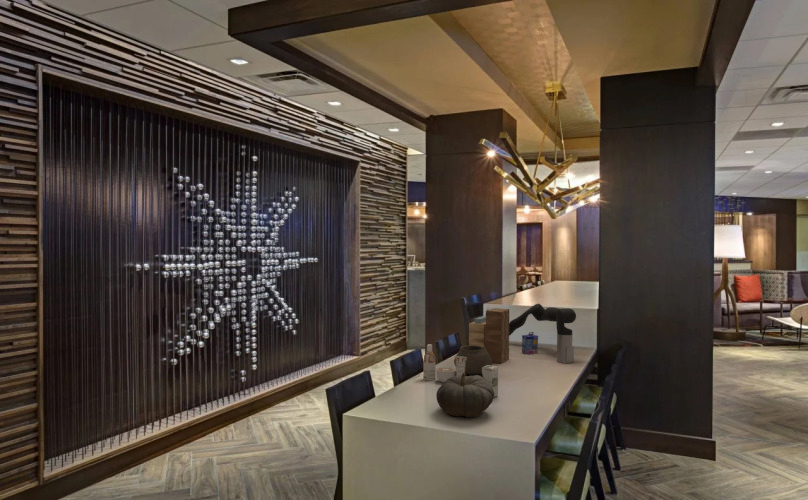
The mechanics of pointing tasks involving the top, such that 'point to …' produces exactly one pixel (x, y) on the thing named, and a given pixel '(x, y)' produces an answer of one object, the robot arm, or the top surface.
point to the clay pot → (474, 358)
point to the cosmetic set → (442, 373)
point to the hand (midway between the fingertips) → (493, 311)
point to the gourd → (465, 395)
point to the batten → (480, 320)
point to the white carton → (491, 377)
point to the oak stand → (477, 334)
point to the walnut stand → (497, 334)
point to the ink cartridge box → (530, 343)
